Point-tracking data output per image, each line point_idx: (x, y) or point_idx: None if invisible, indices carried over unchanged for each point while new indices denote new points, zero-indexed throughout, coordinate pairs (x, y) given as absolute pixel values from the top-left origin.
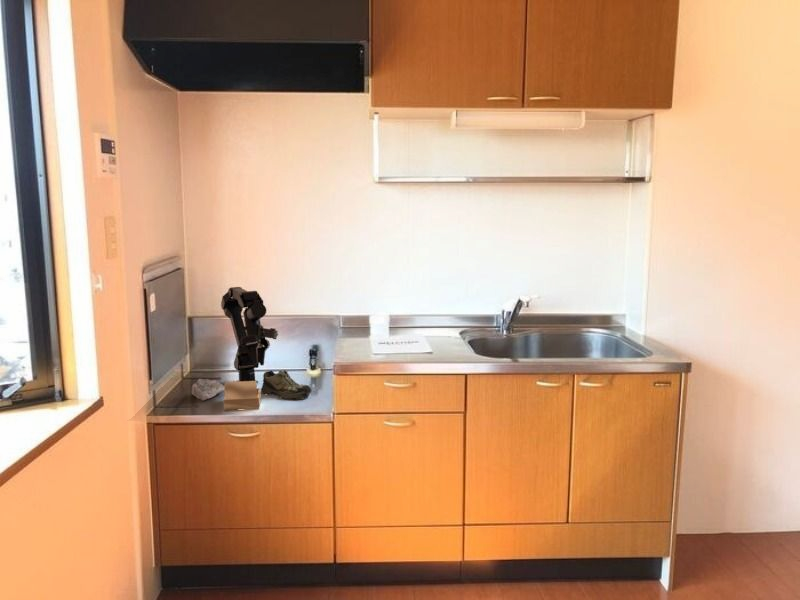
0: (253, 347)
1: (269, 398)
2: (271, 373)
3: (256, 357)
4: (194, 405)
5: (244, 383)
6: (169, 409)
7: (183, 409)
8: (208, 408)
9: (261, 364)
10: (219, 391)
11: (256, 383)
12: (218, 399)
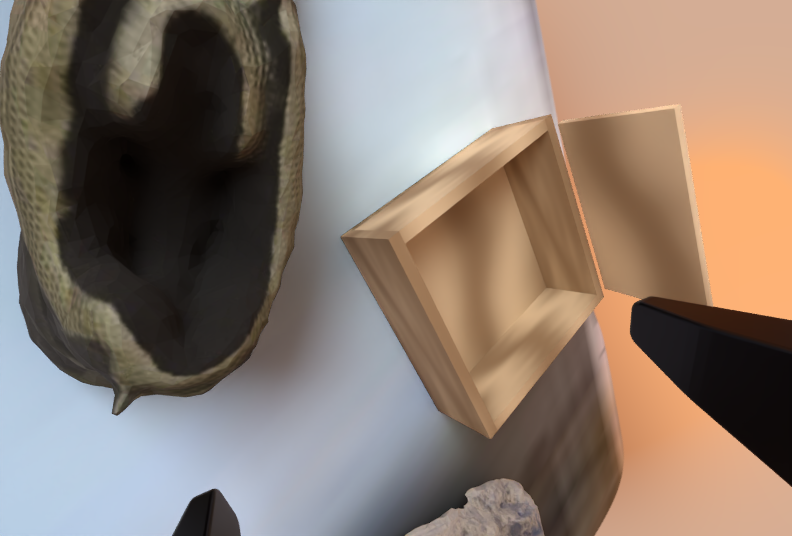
0: None
1: (309, 175)
2: (151, 283)
3: (774, 321)
4: (531, 474)
5: (679, 194)
6: (580, 505)
7: (570, 461)
8: (541, 383)
9: (231, 528)
10: (451, 511)
11: (659, 107)
12: (441, 468)
